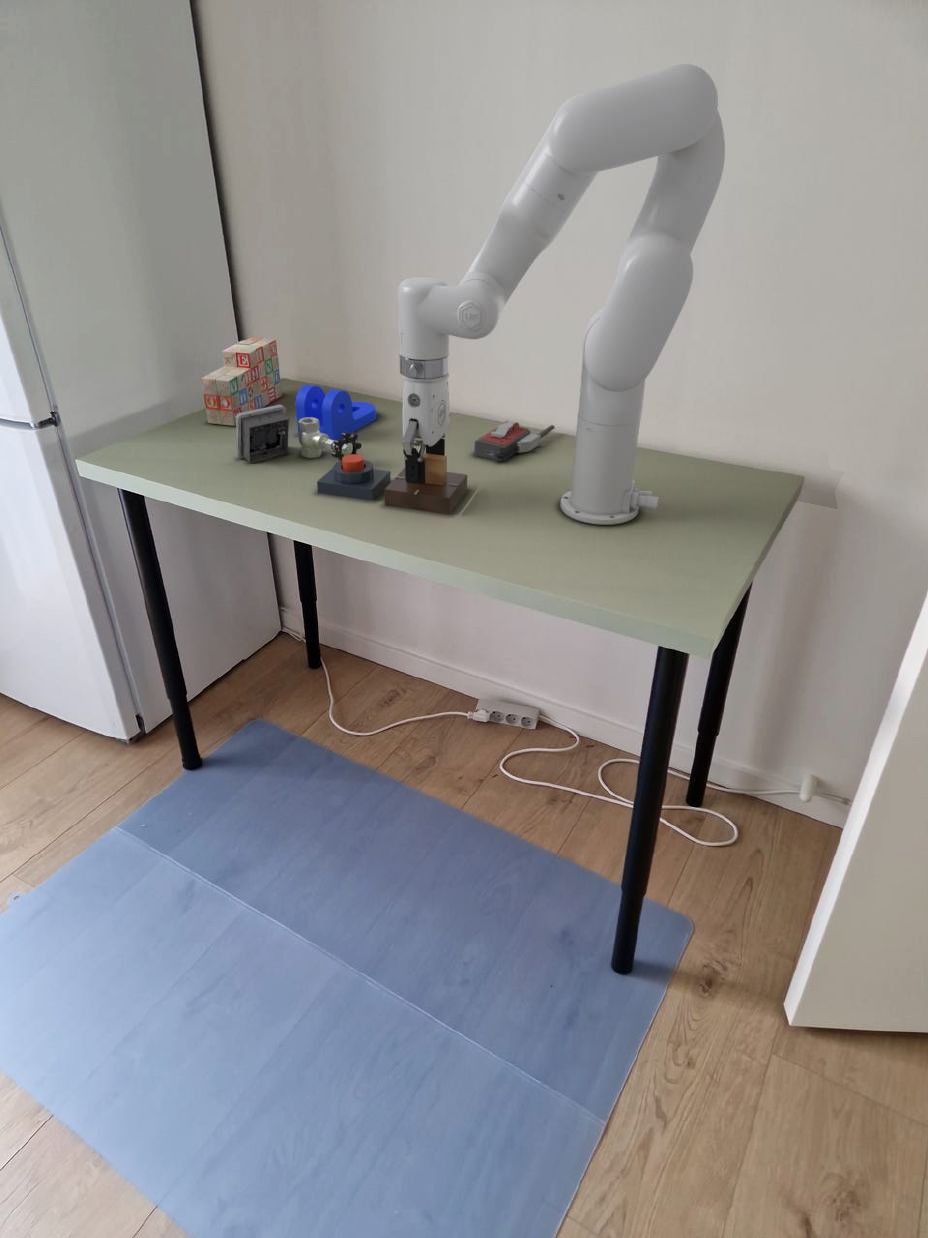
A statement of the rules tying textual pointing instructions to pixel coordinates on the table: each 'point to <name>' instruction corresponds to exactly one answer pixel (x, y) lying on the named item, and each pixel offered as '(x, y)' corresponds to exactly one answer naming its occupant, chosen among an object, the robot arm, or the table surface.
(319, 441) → the valve
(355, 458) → the red button
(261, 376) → the stack of blocks
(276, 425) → the electrical switch
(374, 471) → the button box
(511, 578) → the table surface
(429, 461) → the oak handle
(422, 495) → the handle panel
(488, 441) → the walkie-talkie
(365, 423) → the bracket
